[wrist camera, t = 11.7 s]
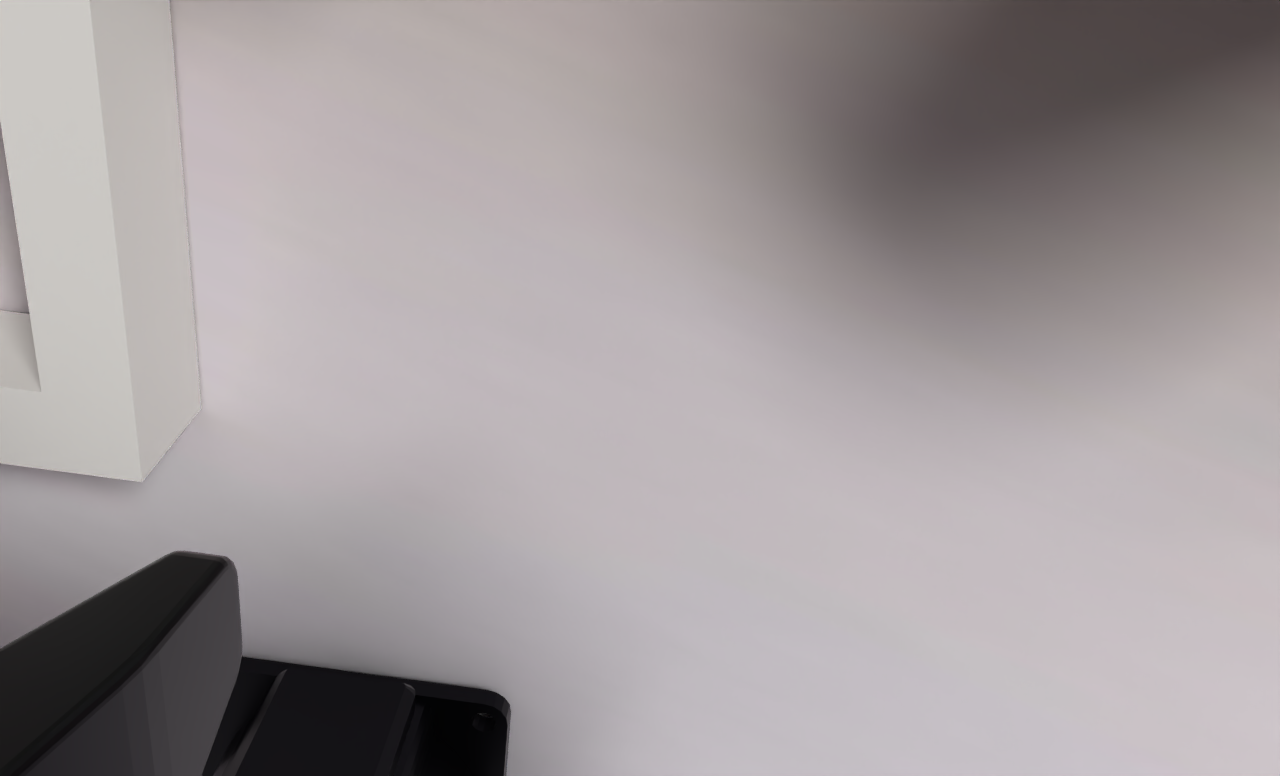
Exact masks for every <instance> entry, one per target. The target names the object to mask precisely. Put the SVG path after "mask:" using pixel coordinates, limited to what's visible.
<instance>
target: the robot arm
mask: <svg viewBox="0 0 1280 776" xmlns="http://www.w3.org/2000/svg"><path fill="white" fill-rule="evenodd" d="M478 713H486V714H489V715H491V716H492V717H489V718H486V717H483V716H480V715H479V714H478ZM510 717H511V709H510V704H509V703H508V702H507V700H506V699H505V698H504V697H503V696H501V695H500V694H498V693H496V692H492V691H489V690H482V689H474V688H467V687H459V686H452V685H445V684H437V683H430V682H422V681H415V680H407V679H400V678H393V677H385V676H378V675H370V674H363V673H356V672H348V671H341V670H333V669H326V668H318V667H311V666H304V665H296V664H289V663H281V662H274V661H267V660H259V659H252V658H244V657H242V633H241V618H240V603H239V588H238V576H237V571H236V568H235V565H234V563H233V562H232V561H231V560H230V559H229V558H227V557H225V556H220V555H213V554H205V553H198V552H191V551H175V552H172V553H169V554H167V555H165V556H163V557H162V558H160V559H158V560H156V561H154V562H153V563H151V564H149V565H147V566H146V567H144V568H142V569H140V570H139V571H137V572H135V573H133V574H131V575H130V576H128V577H126V578H124V579H123V580H121V581H119V582H117V583H116V584H114V585H112V586H110V587H108V588H107V589H105V590H103V591H101V592H100V593H98V594H96V595H94V596H93V597H91V598H89V599H87V600H85V601H84V602H82V603H80V604H78V605H77V606H75V607H73V608H71V609H70V610H68V611H66V612H64V613H62V614H61V615H59V616H57V617H55V618H54V619H52V620H50V621H48V622H47V623H45V624H43V625H41V626H39V627H38V628H36V629H34V630H32V631H31V632H29V633H27V634H25V635H23V636H22V637H20V638H18V639H16V640H15V641H13V642H11V643H9V644H8V645H6V646H4V647H2V648H0V776H506V770H507V756H508V743H509V730H510Z"/></svg>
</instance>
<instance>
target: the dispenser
mask: <svg viewBox="0 0 1280 776" xmlns="http://www.w3.org/2000/svg"><path fill="white" fill-rule="evenodd" d="M0 123H1V129H2V136H3V142H4V149H5V156H6V162H7V169H8V175H9V182H10V188H11V195H12V202H13V208H14V215H15V221H16V228H17V235H18V241H19V248H20V254H21V261H22V268H23V274H24V281H25V287H26V294H27V301H28V307H29V314H25V313H18V312H10V311H3V310H0V463H1V464H8V465H16V466H23V467H31V468H38V469H46V470H53V471H61V472H68V473H76V474H83V475H91V476H98V477H106V478H113V479H121V480H128V481H136V482H143V481H144V480H145V478H146V477H147V476H148V475H149V473H150V472H151V471H152V470H153V468H154V467H155V466H156V465H157V463H158V462H159V461H160V460H161V458H162V457H163V456H164V455H165V453H166V452H167V451H168V450H169V448H170V447H171V446H172V445H173V443H174V442H175V441H176V440H177V438H178V437H179V436H180V435H181V433H182V432H183V431H184V430H185V428H186V427H187V426H188V425H189V423H190V422H191V421H192V420H193V418H194V417H195V416H196V415H197V413H198V412H199V411H200V410H201V396H200V383H199V371H198V358H197V345H196V332H195V320H194V307H193V294H192V281H191V268H190V256H189V243H188V230H187V217H186V205H185V192H184V179H183V166H182V154H181V141H180V128H179V115H178V103H177V90H176V77H175V64H174V52H173V39H172V26H171V13H170V1H169V0H0Z"/></svg>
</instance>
